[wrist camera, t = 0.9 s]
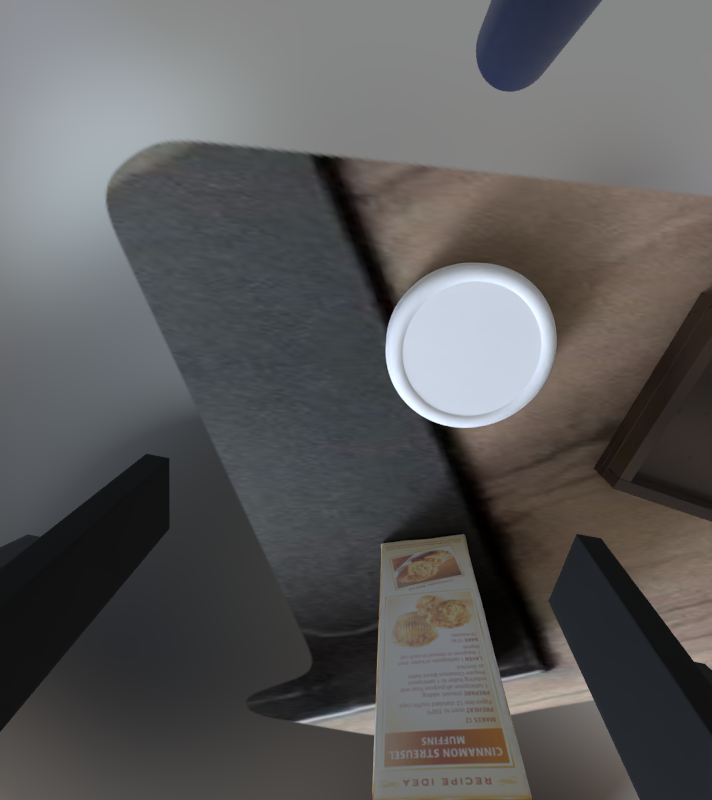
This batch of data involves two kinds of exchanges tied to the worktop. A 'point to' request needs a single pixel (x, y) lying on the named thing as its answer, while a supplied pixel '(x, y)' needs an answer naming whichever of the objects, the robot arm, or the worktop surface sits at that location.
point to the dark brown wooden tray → (670, 425)
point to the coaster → (470, 344)
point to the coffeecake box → (439, 683)
